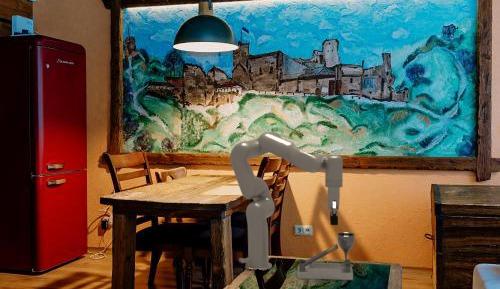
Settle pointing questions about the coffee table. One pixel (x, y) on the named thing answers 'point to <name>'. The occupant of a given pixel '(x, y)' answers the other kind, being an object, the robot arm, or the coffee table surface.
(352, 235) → the wine glass
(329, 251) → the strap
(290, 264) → the coffee table surface
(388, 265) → the coffee table surface
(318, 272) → the grey flat base
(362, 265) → the coffee table surface
